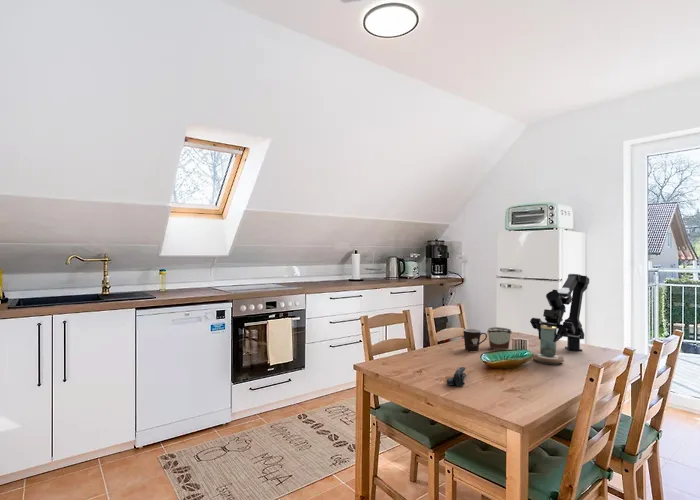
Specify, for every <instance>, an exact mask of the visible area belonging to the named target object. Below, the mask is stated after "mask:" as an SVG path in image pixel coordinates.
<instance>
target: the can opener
mask: <svg viewBox="0 0 700 500" xmlns="http://www.w3.org/2000/svg"><path fill="white" fill-rule="evenodd" d="M465 370H466V367H465V366H461V367H459V368H457V369H456V371H455V372H454V374H453V377H448V378H447V379H446V384H447V385H448V386H455V385H456V386H457V387H462V386H464V385H466V383H465V378H466V377H467V373H465V372H464V371H465Z"/></svg>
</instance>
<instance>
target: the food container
mask: <svg viewBox="0 0 700 500" xmlns="http://www.w3.org/2000/svg"><path fill="white" fill-rule="evenodd" d="M486 334H488V344H489V349H491V348H501V349H500V350H509V348H510V340H511V334H513V333H512V330H511V329H510V328H507V327H499V326H497V327H496V326H495V327H494V326H493V327H488V329H487V331H486Z"/></svg>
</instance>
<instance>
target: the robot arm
mask: <svg viewBox="0 0 700 500" xmlns="http://www.w3.org/2000/svg"><path fill="white" fill-rule="evenodd" d="M589 284H590V278H589V277H588V276H587V275H581V274H580V273H569V274H567V278H566V280H565V281H564V284H563V285H562V287H561V288H559V289H552V291H548V292H547V293H546V295H545V298H546V301H547V302H548V304H549V306H550V307H551V308H550V309H544V310H543V317H544V320H545V321H542V319H541V318H538V317H532V318H531V319H530V321H529V322H530V324H531V326H532V328H533V329H534V330H537V331H538V340H540V336H541V327H540V326H541V325H553V326H556V327H557V329H556V330H557V331H556V337H555V340H554V342H556V343H557V342H558V341H559V340H561V339H562V338H567V340H566V342H567V343H566V344H567V346H564V348H565V349H567V350H568V351H577V352H583V349H582V348H581V340H585V332H584V329H583V328H582V327H583V324H582V322H581V320H580V318H581V317H580V316H581V309H582V302H583V297H584V292H585V291H586V290H587V289H588V287H589ZM565 305H566V306H567V305H569V306H570V307H569V308H570V309H569V314H568V315H569V316H568V318H564V321H563V317H564V315H565V314H564V313H566V306H565ZM561 322H562V324H561Z"/></svg>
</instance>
